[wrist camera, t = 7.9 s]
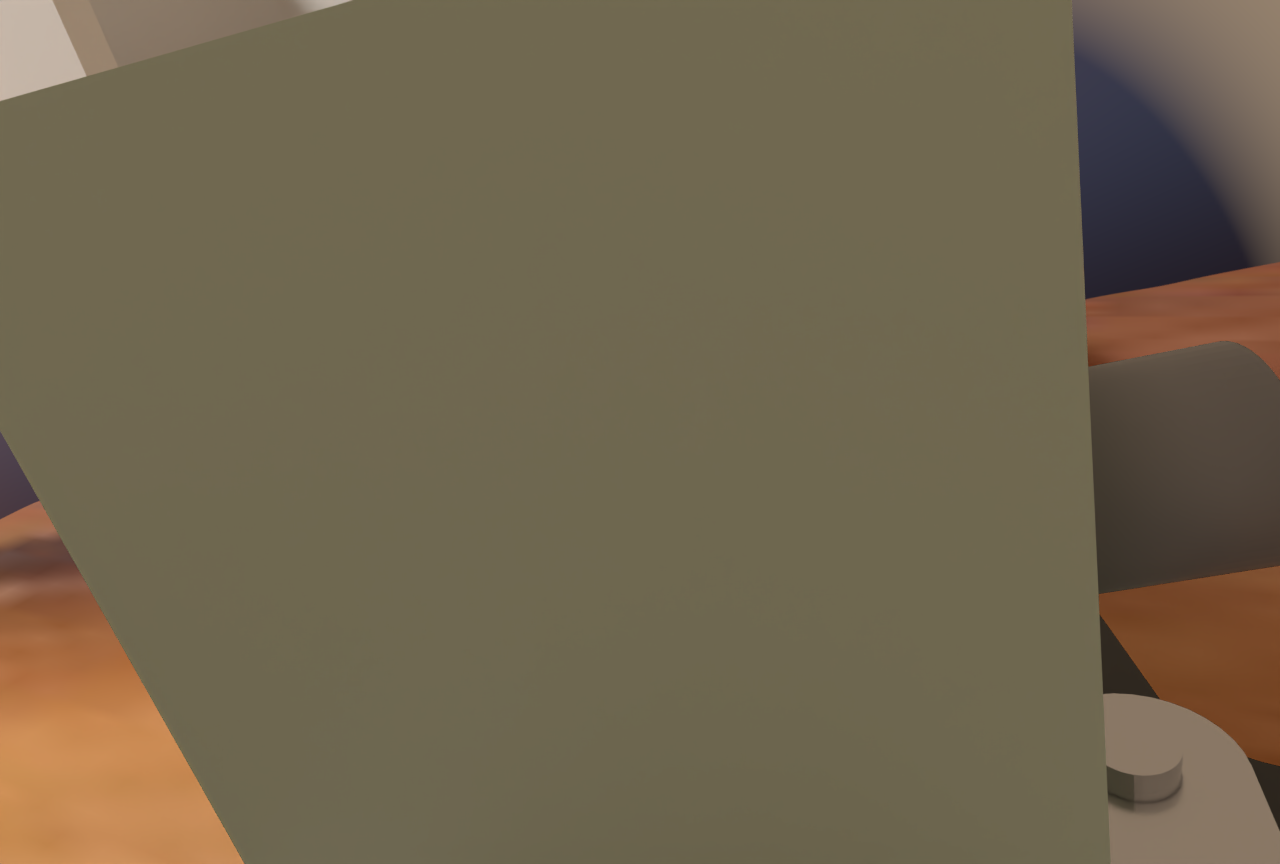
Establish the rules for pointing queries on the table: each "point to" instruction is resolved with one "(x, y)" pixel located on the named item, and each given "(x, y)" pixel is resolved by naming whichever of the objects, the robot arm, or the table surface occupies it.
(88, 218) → the door
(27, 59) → the display case
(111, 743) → the table surface
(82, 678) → the table surface
